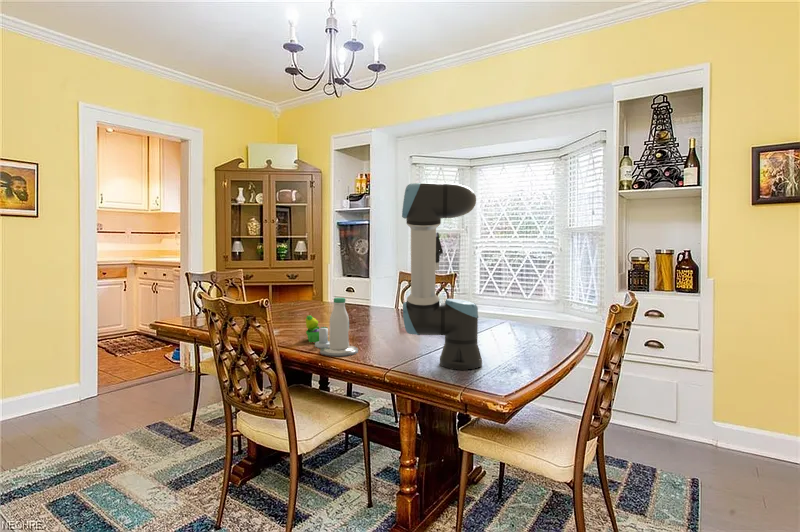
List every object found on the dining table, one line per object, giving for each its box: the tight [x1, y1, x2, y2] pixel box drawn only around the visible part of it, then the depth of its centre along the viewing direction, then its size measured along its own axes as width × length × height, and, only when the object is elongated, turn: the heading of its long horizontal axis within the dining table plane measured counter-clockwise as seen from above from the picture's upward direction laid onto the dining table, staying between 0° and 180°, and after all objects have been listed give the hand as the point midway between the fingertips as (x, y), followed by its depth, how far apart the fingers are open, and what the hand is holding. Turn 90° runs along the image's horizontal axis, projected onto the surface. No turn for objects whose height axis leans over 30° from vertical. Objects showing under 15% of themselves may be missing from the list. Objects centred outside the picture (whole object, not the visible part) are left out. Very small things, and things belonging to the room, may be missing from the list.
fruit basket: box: [305, 315, 328, 342], centre depth 200 cm, size 11×9×11 cm
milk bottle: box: [328, 297, 350, 350], centre depth 180 cm, size 8×8×20 cm
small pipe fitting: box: [314, 328, 330, 349], centre depth 189 cm, size 7×7×8 cm
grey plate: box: [319, 344, 359, 358], centre depth 180 cm, size 15×15×2 cm
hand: (427, 269), depth 202 cm, fingers open, 13 cm apart
